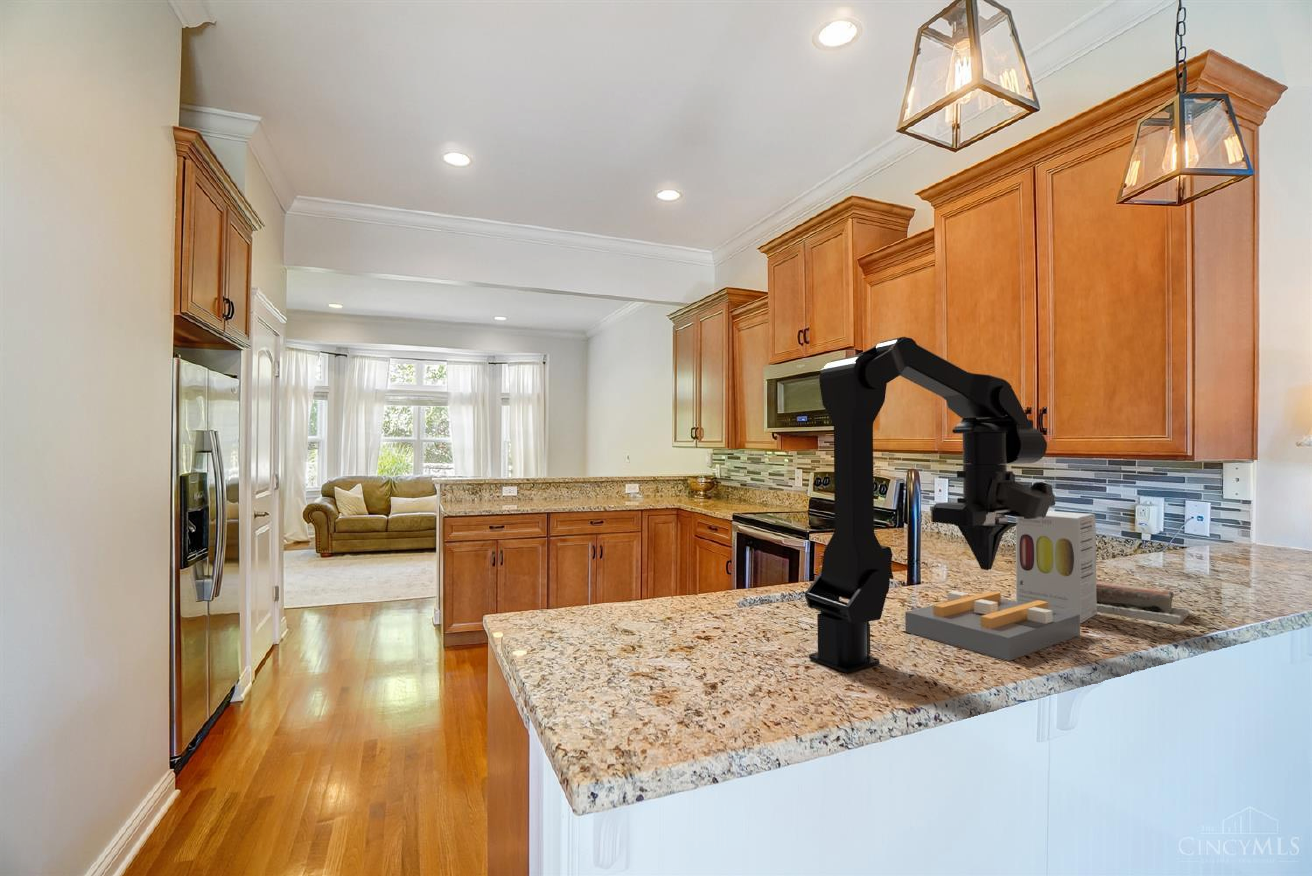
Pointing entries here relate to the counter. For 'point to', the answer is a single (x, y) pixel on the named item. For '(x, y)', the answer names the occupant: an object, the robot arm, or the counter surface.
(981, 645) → the breaker panel
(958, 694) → the counter surface
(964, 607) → the orange wooden bar
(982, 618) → the orange bar
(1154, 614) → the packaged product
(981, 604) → the block
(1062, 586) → the supplement box
